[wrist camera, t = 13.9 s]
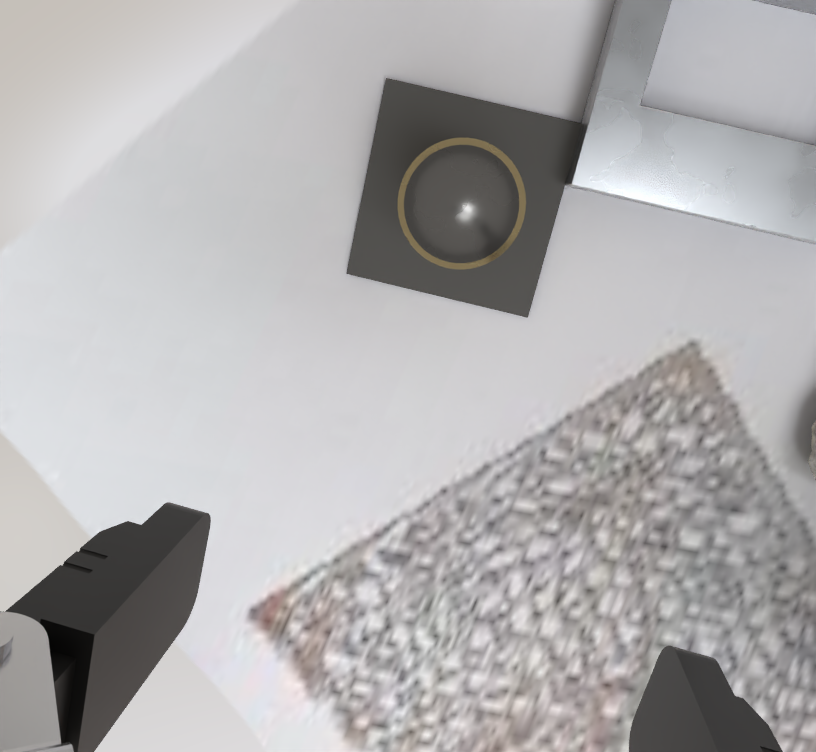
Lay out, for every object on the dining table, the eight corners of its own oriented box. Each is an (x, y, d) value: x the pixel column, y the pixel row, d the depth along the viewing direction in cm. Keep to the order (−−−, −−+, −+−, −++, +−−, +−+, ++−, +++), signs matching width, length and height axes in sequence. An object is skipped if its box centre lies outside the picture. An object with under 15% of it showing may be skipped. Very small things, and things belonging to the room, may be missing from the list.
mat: (580, 124, 34) (581, 123, 34) (527, 316, 37) (527, 317, 37) (387, 79, 35) (386, 77, 34) (347, 272, 37) (346, 273, 37)
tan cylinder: (521, 164, 35) (542, 152, 26) (497, 261, 36) (508, 283, 27) (425, 142, 35) (411, 123, 26) (404, 240, 36) (384, 255, 27)
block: (955, -58, 31) (1004, -84, 28) (834, 248, 35) (866, 253, 32) (650, -125, 31) (668, -157, 29) (563, 184, 35) (571, 184, 32)
